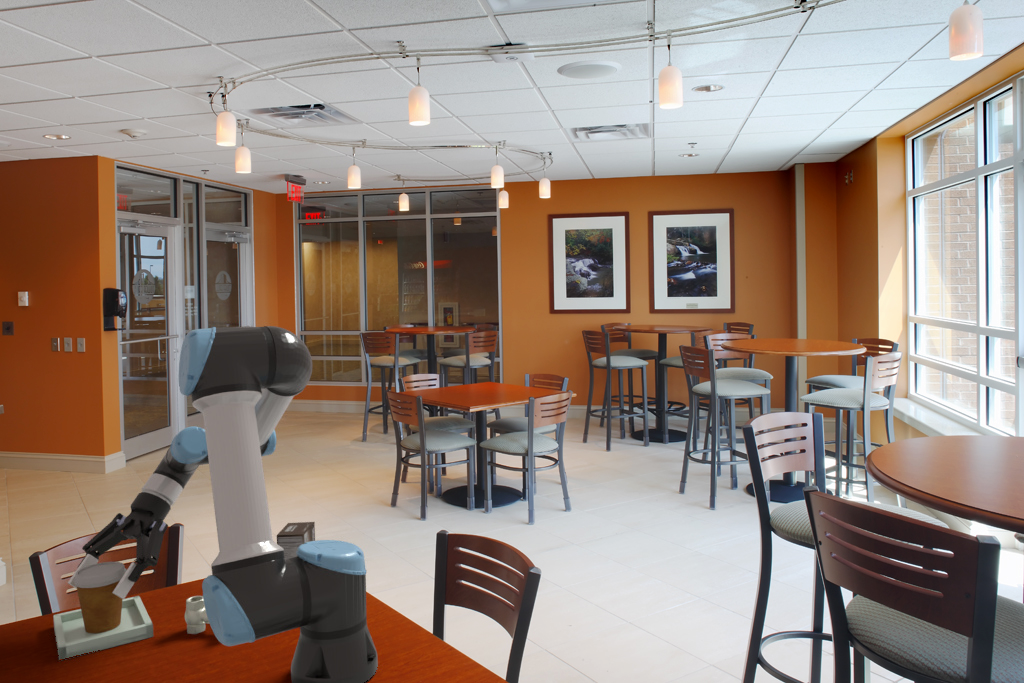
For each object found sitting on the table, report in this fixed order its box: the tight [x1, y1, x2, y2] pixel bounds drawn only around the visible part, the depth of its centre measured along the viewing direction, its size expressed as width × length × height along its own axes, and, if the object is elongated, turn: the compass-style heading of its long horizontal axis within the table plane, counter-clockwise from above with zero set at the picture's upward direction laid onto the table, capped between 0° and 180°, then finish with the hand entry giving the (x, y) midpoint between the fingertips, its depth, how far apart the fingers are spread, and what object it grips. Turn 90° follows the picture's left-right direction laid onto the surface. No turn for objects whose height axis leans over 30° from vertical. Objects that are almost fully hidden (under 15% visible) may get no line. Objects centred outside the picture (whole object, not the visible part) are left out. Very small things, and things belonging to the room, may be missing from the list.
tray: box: [52, 595, 154, 661], centre depth 144 cm, size 18×16×2 cm
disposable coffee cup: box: [73, 561, 127, 633], centre depth 144 cm, size 10×10×12 cm
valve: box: [184, 595, 210, 635], centre depth 143 cm, size 7×7×12 cm
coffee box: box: [276, 521, 316, 559], centre depth 159 cm, size 9×6×16 cm
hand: (95, 591), depth 142 cm, fingers open, 13 cm apart
